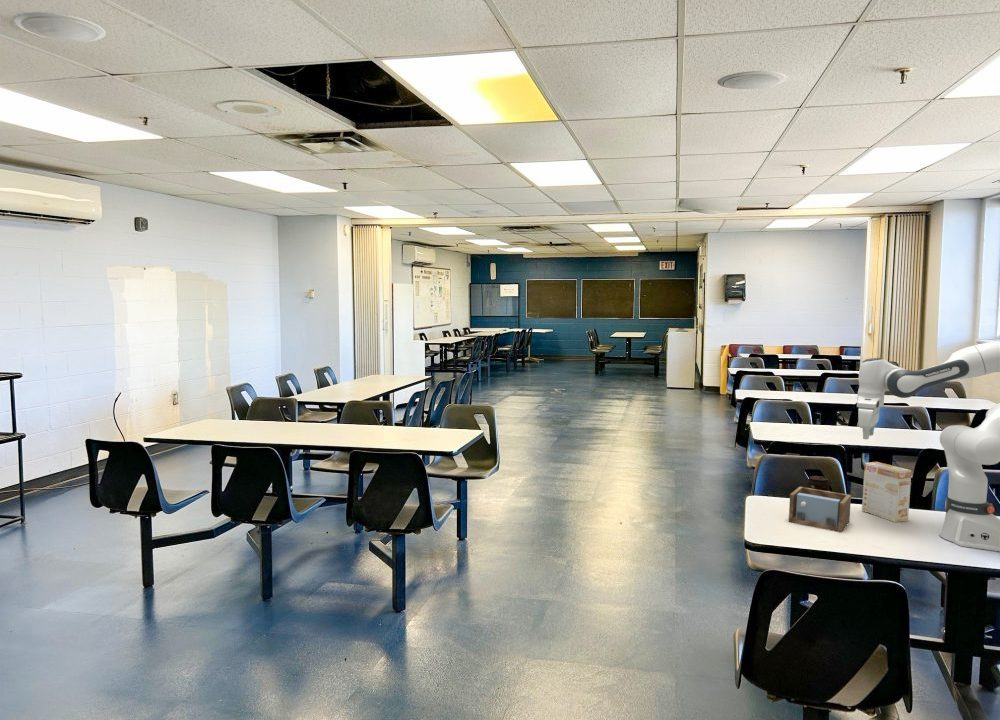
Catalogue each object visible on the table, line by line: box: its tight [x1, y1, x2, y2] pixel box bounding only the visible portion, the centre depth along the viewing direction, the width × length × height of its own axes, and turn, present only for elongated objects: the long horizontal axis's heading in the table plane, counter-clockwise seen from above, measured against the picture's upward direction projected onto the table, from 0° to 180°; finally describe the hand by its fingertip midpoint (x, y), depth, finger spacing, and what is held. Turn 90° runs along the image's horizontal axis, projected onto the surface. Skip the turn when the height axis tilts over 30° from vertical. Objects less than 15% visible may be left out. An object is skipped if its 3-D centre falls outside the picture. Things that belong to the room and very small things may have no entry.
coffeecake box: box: [861, 461, 912, 523], centre depth 262 cm, size 15×7×20 cm, turn 22°
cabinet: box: [788, 486, 852, 533], centre depth 253 cm, size 18×14×10 cm
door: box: [796, 493, 840, 526], centre depth 250 cm, size 14×4×9 cm, turn 53°
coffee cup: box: [806, 475, 832, 492], centre depth 268 cm, size 9×8×13 cm
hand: (868, 437), depth 257 cm, fingers open, 8 cm apart
